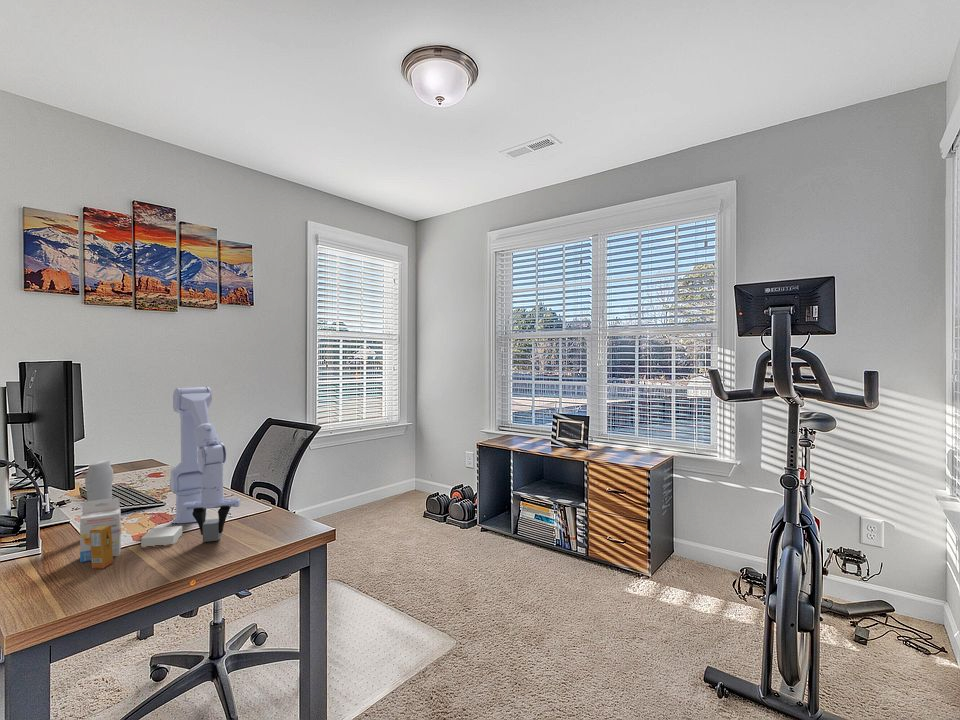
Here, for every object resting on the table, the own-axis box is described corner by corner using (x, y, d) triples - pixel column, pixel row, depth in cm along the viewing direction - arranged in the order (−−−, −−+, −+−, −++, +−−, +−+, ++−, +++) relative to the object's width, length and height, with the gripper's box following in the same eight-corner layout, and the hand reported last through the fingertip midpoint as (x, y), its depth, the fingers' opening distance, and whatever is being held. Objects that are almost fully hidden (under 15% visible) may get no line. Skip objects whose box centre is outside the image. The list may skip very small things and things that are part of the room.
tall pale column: (93, 540, 143) (92, 464, 142) (79, 540, 143) (78, 464, 142) (119, 527, 153) (119, 457, 153) (106, 527, 153) (105, 456, 153)
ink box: (79, 563, 127) (78, 507, 127) (82, 556, 132) (81, 501, 131) (120, 556, 132) (119, 501, 132) (121, 549, 136) (120, 496, 136)
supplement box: (100, 563, 128) (100, 524, 127) (113, 563, 127) (112, 525, 127) (89, 568, 124) (89, 529, 124) (103, 569, 124) (102, 529, 124)
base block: (151, 538, 146) (151, 528, 145) (182, 535, 148) (182, 525, 148) (141, 548, 138) (141, 538, 138) (173, 545, 140) (173, 535, 140)
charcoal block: (206, 536, 144) (206, 519, 144) (221, 535, 145) (221, 518, 145) (202, 541, 140) (202, 524, 140) (218, 540, 141) (218, 523, 141)
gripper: (179, 492, 136) (179, 540, 137) (236, 488, 140) (236, 535, 141) (187, 485, 143) (187, 531, 144) (241, 481, 147) (241, 526, 147)
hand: (212, 532), depth 143 cm, fingers closed on charcoal block, 4 cm apart
